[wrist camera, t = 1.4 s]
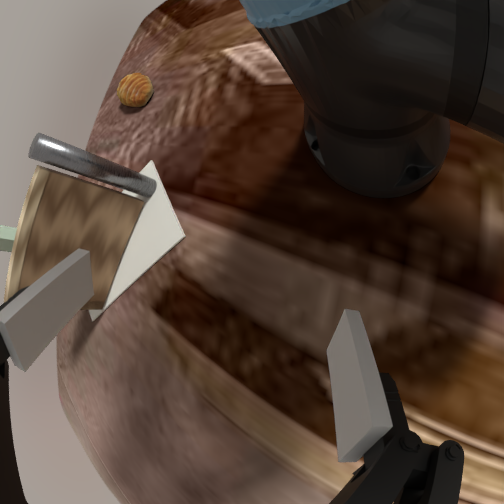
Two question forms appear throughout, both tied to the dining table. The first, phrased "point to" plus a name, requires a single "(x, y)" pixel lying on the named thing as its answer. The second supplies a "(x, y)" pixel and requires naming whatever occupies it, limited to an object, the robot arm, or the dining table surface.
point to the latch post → (7, 238)
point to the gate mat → (145, 239)
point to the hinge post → (90, 165)
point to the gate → (70, 230)
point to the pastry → (135, 90)
